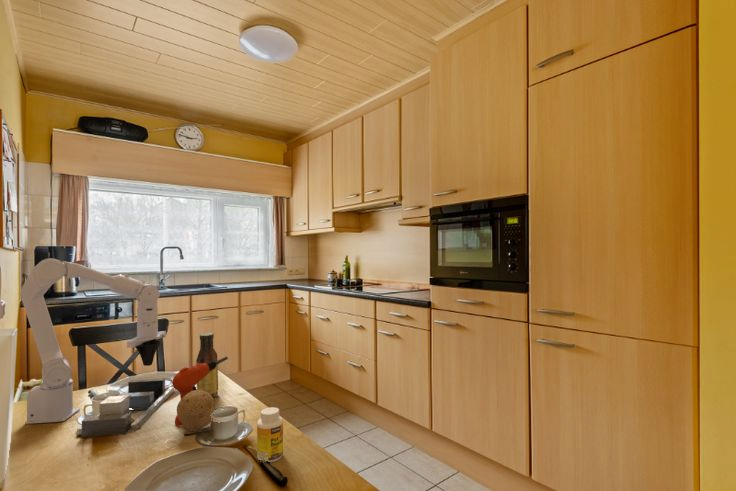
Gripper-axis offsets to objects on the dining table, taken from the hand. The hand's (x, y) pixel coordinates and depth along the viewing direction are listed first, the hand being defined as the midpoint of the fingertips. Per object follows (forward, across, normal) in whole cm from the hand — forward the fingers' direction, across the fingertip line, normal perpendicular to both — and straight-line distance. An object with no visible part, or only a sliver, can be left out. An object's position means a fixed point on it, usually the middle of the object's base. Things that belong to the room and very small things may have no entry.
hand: (147, 365), depth 122 cm
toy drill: (+10, -9, -25) cm, 29 cm away
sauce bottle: (+10, +2, -19) cm, 22 cm away
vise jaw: (+10, -5, -2) cm, 11 cm away
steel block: (+10, -20, -7) cm, 23 cm away
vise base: (+10, -11, -4) cm, 15 cm away
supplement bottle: (+10, -28, -54) cm, 61 cm away
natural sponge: (+10, -18, -29) cm, 36 cm away
